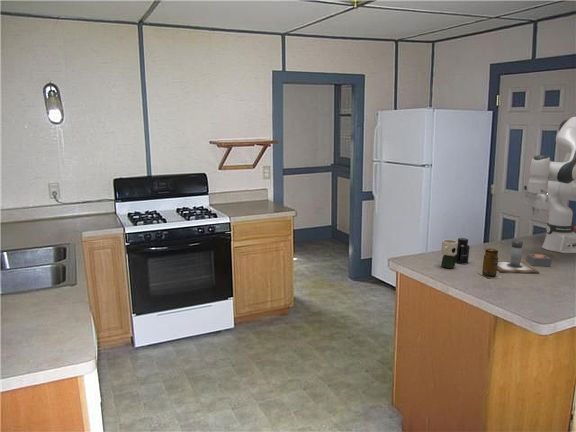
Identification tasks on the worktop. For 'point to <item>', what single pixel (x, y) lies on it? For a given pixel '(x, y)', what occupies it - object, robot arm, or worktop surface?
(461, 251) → the supplement bottle
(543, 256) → the button
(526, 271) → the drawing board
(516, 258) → the grey cylinder
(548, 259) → the button box
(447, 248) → the character mug
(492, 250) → the condiment
